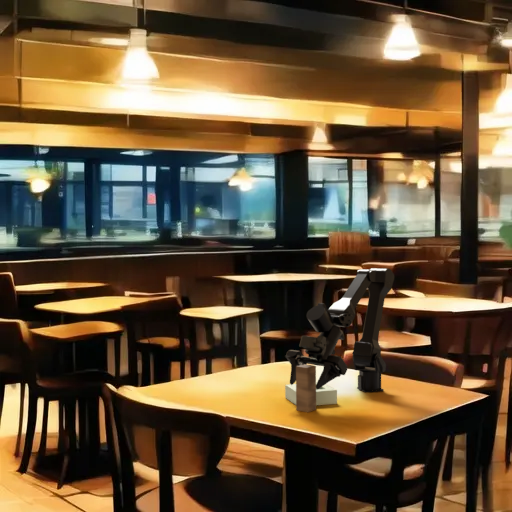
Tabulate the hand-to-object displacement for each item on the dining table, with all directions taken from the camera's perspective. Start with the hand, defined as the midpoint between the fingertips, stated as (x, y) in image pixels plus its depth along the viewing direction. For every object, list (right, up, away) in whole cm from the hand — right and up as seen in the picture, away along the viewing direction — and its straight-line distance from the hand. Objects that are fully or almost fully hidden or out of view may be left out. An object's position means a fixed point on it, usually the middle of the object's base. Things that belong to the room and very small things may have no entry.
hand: (303, 386), depth 209 cm
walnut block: (+1, -7, +1) cm, 7 cm away
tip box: (+3, -6, +12) cm, 14 cm away
